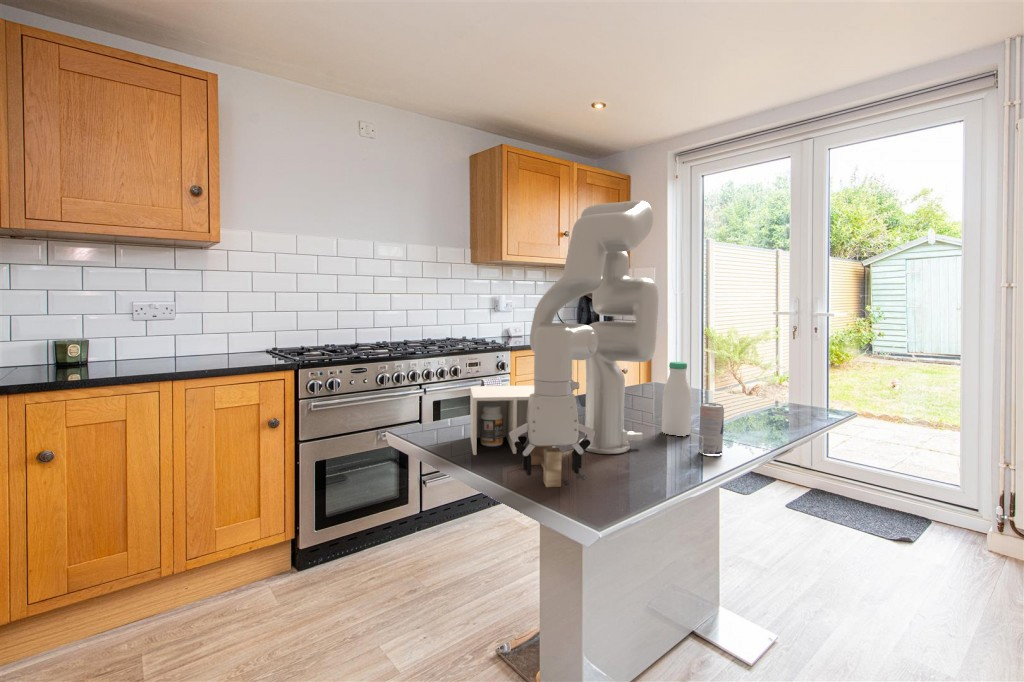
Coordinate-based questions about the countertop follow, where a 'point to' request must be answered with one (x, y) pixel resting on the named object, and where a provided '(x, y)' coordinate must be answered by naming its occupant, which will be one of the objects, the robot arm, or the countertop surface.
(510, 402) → the cubby shelf
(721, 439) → the energy drink
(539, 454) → the wooden block tool
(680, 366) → the milk bottle
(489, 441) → the pill bottle
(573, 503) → the countertop surface
